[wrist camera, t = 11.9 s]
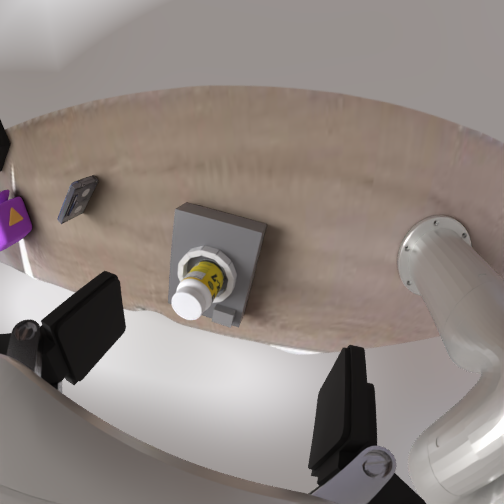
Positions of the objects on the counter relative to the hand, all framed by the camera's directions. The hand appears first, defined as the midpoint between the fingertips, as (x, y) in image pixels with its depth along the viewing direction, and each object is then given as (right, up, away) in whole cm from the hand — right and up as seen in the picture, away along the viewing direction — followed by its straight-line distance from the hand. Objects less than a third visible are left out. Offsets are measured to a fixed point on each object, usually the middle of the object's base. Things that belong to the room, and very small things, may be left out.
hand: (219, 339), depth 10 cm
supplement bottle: (-5, 0, +29) cm, 29 cm away
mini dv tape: (-28, +14, +32) cm, 45 cm away
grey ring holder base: (-4, +2, +32) cm, 32 cm away
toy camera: (-56, +13, +39) cm, 69 cm away
